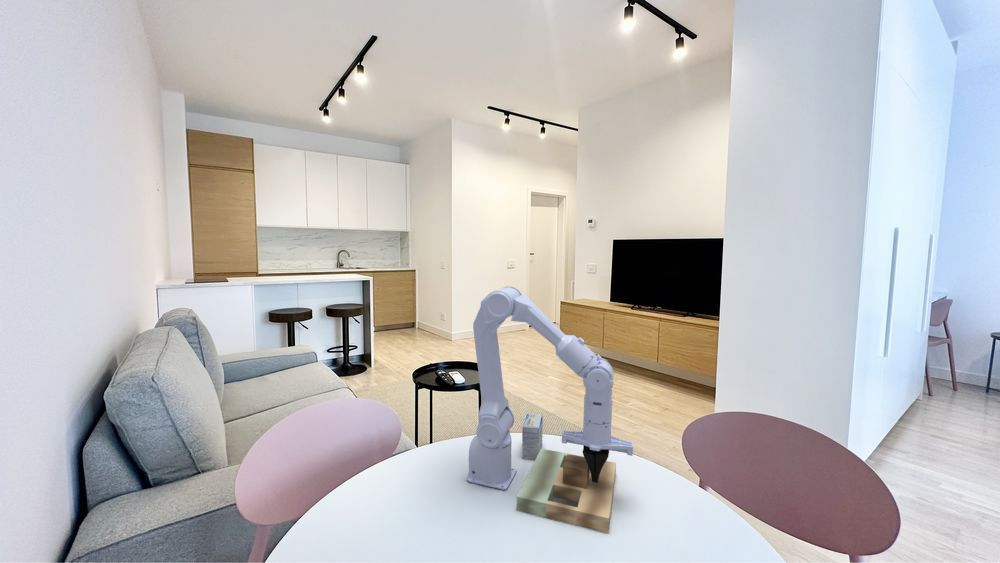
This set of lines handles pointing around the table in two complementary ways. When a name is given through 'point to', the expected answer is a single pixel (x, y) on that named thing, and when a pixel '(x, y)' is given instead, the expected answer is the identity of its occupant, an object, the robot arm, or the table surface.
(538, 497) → the board
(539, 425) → the medicine box
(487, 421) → the robot arm
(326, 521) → the table surface
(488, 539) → the table surface
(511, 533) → the table surface
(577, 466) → the walnut block
